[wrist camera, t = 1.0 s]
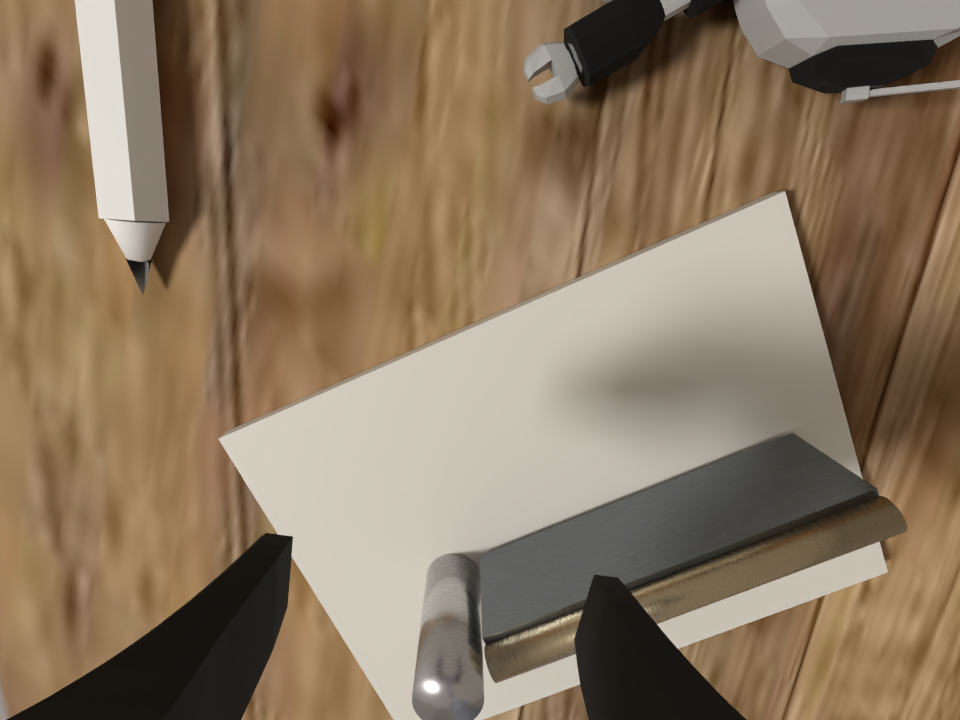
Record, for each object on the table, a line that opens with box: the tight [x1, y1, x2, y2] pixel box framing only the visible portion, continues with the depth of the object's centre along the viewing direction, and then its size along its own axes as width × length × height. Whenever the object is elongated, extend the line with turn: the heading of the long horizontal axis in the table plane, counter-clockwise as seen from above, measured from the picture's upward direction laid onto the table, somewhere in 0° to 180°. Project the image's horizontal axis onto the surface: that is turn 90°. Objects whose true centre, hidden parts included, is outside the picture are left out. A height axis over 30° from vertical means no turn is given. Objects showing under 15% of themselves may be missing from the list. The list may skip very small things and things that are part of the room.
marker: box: [75, 0, 169, 294], centre depth 18 cm, size 3×2×16 cm
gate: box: [480, 433, 907, 683], centre depth 20 cm, size 2×14×6 cm, turn 114°
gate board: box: [219, 191, 888, 720], centre depth 23 cm, size 18×24×1 cm
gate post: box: [412, 553, 484, 720], centre depth 21 cm, size 2×2×7 cm
